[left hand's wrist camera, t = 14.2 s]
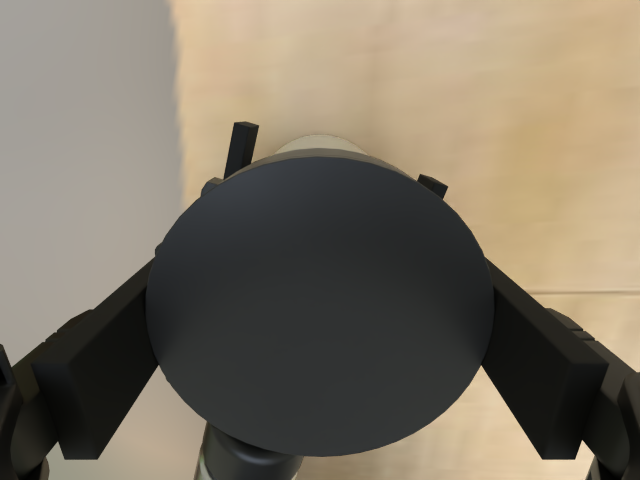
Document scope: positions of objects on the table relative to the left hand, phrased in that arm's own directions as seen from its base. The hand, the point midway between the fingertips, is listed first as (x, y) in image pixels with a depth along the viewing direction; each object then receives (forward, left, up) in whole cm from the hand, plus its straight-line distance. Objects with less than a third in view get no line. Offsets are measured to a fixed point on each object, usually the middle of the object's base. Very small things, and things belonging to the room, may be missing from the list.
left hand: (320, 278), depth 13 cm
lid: (0, 0, +3) cm, 3 cm away
